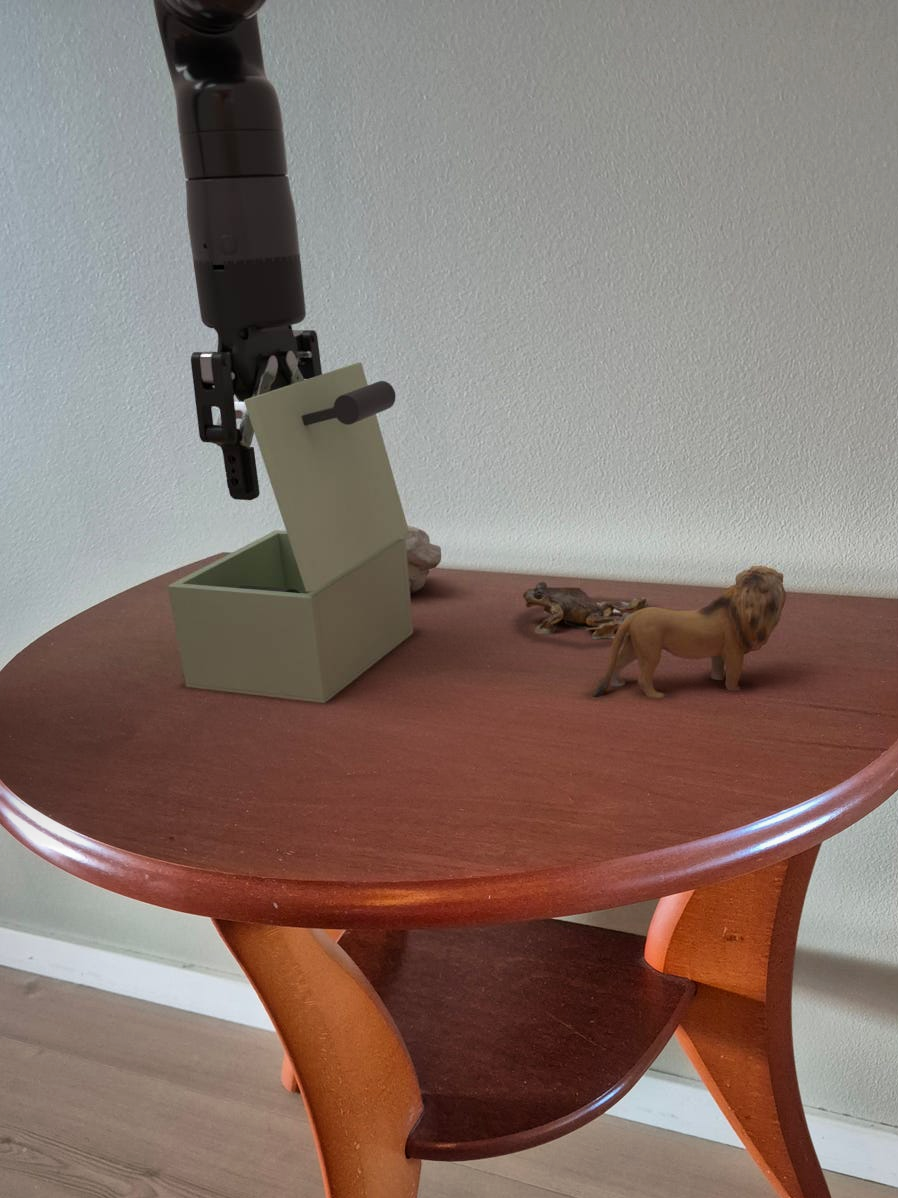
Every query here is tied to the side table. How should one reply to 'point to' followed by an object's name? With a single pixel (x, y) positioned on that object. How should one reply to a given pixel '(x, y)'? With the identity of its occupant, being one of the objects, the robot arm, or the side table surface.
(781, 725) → the side table surface
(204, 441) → the robot arm
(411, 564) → the fossil replica
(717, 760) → the side table surface
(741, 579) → the lion figurine
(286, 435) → the lid
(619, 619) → the frog figurine
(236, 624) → the chest
